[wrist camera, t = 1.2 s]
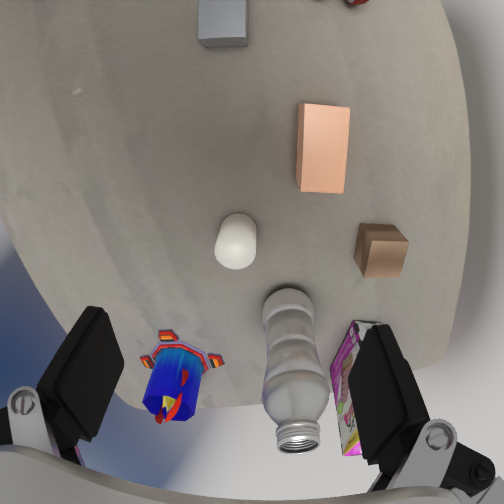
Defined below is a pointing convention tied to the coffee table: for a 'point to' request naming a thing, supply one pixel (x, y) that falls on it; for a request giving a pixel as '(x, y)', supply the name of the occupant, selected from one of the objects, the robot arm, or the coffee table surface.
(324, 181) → the terracotta long brick
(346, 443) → the candy bar box
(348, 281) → the coffee table surface
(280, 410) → the plastic bottle
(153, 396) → the fantasy tower
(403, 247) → the walnut square block
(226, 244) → the cream cylinder
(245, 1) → the grey short brick
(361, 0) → the toy fire truck
